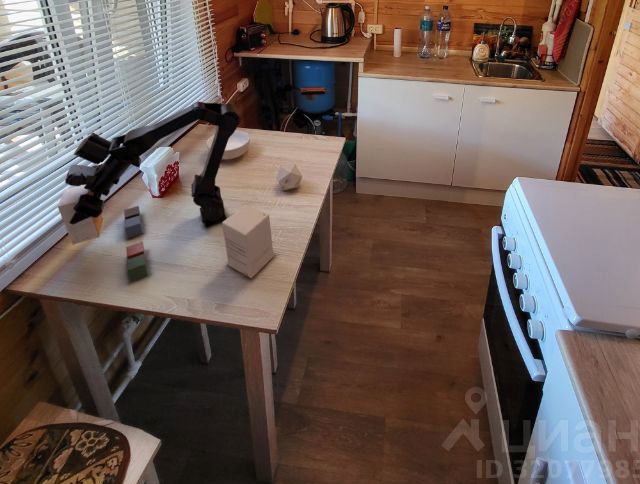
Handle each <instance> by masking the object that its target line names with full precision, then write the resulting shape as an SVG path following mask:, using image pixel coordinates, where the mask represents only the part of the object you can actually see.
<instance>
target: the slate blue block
mask: <svg viewBox="0 0 640 484" xmlns="http://www.w3.org/2000/svg"><path fill="white" fill-rule="evenodd" d="M141 220H142V218H141V219H140V216H136V217H133V218H130V219H127V220H125V219H124V229H125V233H126V237H127V239H131V238H134V237H138V236H140V235H143V234H144V229H143V222H142V223H141Z"/></svg>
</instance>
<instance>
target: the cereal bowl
mask: <svg viewBox="0 0 640 484" xmlns="http://www.w3.org/2000/svg"><path fill="white" fill-rule="evenodd" d="M214 136H215V134H213V135H211V136H210V137H209V138H208V139H207V141H206V148H207V151H208V152H209V151H210V148H211V145H212V142H213V139H214ZM250 144H251V139H250V135H249V133H248V132H247V131H246V132H245V131H243V130H237V129H236V130H235V132H234V133H233V134H232V135H231V137H230V138H229V140H228V142H227V145H226V148H225V151H224V154H223V157H222V160H233V159H236V158H238V157H241V156H243V155H244V154H245V153H246V152H247V151H248V150H249V148H250Z"/></svg>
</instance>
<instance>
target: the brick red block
mask: <svg viewBox="0 0 640 484" xmlns="http://www.w3.org/2000/svg"><path fill="white" fill-rule="evenodd" d="M125 251H126V261H127V260H129V259H131V258H134V257H137V256H140V255H142V254H144V257H145V261H146V262H147V257H146V256H147V255H146V249H145V246H144V242H143V241H139V242H137V243H134V244H131V245H128V246H126V247H125Z"/></svg>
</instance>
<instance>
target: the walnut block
mask: <svg viewBox="0 0 640 484" xmlns="http://www.w3.org/2000/svg"><path fill="white" fill-rule="evenodd" d="M123 215H124V221H125V220H127V219H130V218H133V217H136V216H140V219H141V223H142V224H143V222H142V214H141V210H140V206H139V205H137V206H133V207H129V208H125V209H124V210H123Z"/></svg>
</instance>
